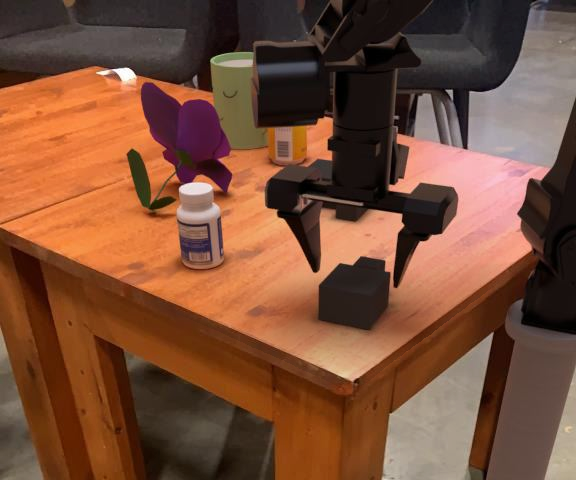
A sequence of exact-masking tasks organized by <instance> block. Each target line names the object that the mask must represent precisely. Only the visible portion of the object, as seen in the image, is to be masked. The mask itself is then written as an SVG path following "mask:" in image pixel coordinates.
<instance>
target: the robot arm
mask: <svg viewBox="0 0 576 480" xmlns="http://www.w3.org/2000/svg"><path fill="white" fill-rule="evenodd" d="M433 2H434V0H329V2H328V3H327V5H326V6H325V8H324V9H323V11H322V12H321V14H320V16H319V18H318V19H317V21H316V22H315V24H314V25H313V27H312V29H311V30H310V32H309V34H308V35H307V41H306V40H304V41H303V40H302V41H285V42H276V41H272V40H255V41H254V43H252V48H253V49H252V50H253V51H252V52H254V57H253V71H252V72H253V78H250V81H251V99H252V110H253V118H254V124H255V128H256V129H263V128H280V127H296V126H307V127H310V126H311V127H312V126H317V124H318V122H319V120H320V119H323V120H324V118H325V113H329V109H330V103H331V73H333V85H332V86H333V87H332V88H333V89H332V94H333V95H332V134H331V136H329V137H328V138H327V143H326V145H327V146H326V147H327V148H326V149H327V150H326V151H329V152H331V161H332V180H331V181H330V182H326V181H321V179H322V174H321V172H320V171H319V169H318V168H313V167H308V166H306V165H299V164H296V165H292V164H288V165H285V166H284V167H282V168H281V169H280V170H279V171H277V172H276V173H275V174H274V175H272V176H271V177H270V178H269V179H268V180H267V181H266V184H265V187H264V206H265V207H266V208H267V209H269V210H275V211H276V216H277V218H279V219H282V220H284V221H285V223H286V224H287V226H288V228H289V229H290V231H291V233H292V234H293V236H294V237H295V239H296V241H297V242H298V245H299V247H300V248H301V251H302V252H303V255H304V256H305V259H306V261H307V263H308V265H309V267H310V270H311V271H312V273H313V274H318V273H319V272H320V270H321V262H322V248H321V247H322V242H321V241H322V240H321V220H320V219H321V212H322V208H323V207H322V203H323V202H327V203H333V204H340V205H346V206H353V207H359V208H366V209H367V210H373V211H379V212H384V213H385V212H386V213H392V214H399V215H401V223H402V225H403V227H402V228H401V229H400V230H399V231H398V232H397V236H396V244H395V245H396V246H395V247H396V248H395V256H394V262H393V263H394V264H393V273H392V284H393V285H392V286H393V288H394V289H398V288H399V287H400V285H401V284H402V282H403V280H404V279H403V278H404V276H405V274H406V272H407V270H408V268H409V265H410V264H411V261H412V258H413V257H414V254H415V252H416V250H417V248H418V246H419V244H420V242H427V241H429V240H430V239H431V237H432V236H438V235H443V233H444V232H445V231H446V230H447V228H448V226H449V225H450V224H451V223H452V221H453V220H454V219H455V218H456V216H457V213H458V205H459V194H458V193H457V191H456V189H455V187H454V186H448V185H443V184H441V185H440V184H434V183H427V182H419V183H418V185H416V186H415V188H414V189H413V190H412V191H411V192H410V193H408V192H401V191H394V190H390V186H396V185H397V184H398V182H399V180H404V179H405V175H406V170H407V166H408V165H407V164H408V158H409V152H410V146H409V145H406V144H402V143H398V141H397V139H398V132H397V129H398V127H396V126H395V127H394V124H395V113H396V112H395V109H396V97H397V84H398V83H397V81H398V70H401V69H418V68H420V67H421V66H422V63H423V62H422V58H420V56H418V55H417V54H416V52H415V51H414V50H413V49H412V47H411V46H410V43H409V41H408V38H407V37H406V36H405V35H404V34H402V32H401V31H402V30H404V29H405V28H406V27H407V26H408V25H410V24H411V23H412V22H414V21H415V20H416V19H417V18H418V17H419V16H421V15H422V14H423V13H424V12H425V11H426V10H427V8H429V6H430V5H431V4H432V3H433ZM386 42H387V43H386ZM557 152H558V153H557V155H556V159H555V161H554V163H553V166H552V167H550V169H549V171H547V172H546V174H545V175H544V176H543V178H542V179H537V178H534V177H530V178H528V181H527V184H526V189H525V196H524V200H523V202H522V204H521V206H520V208H519V209H518V211H517V213H516V215H517V216H518V217H519V218H520V224H519V225H520V231H521V234H522V236H523V237H524V239H525V240H526V241H527V243H529V245H530V247H531V252H532V254H533V255H534V256H536V257H537V258H538V261H537V263H536V265H535V267H534V269H533V270H531V271H530V272H529V273H530V274H529V275H528V277H527V279H526V284H525V288H524V293H523V298H522V299H523V302H522V307H521V312H522V313H524V315H523V317H522V319H521V324H523V325H527V326H532V327H537V328H542V329H547V330H552V331H557V332H563V333H568V334H573V335H576V97H574V100H573V104H572V107H571V111H570V114H569V116H568V120H567V122H566V127H565V129H564V133H563V136H562V139H561V142H560V145H559V149H558V151H557Z"/></svg>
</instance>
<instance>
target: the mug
mask: <svg viewBox="0 0 576 480" xmlns="http://www.w3.org/2000/svg"><path fill="white" fill-rule="evenodd" d="M253 57H254V51H252V52H251V51H240V52H228V53H222V54H219V55H216V56H213V57H212V58H210V73H211V82H210V84H209V91H210V92H212V102H213V107H214V108H215V110H216V111H217V114H218V116H219V121H220V126H221V128H222V130H223V131H224V133H225V134H226V136H227V139H228V142H229V144H230V147H231V150H232V149H233V150H254V149H260V148H261V149H262V148H265V147H267V146H268V128H263V129H256V128H255V124H254V118H253V110H252V99H251V81H250V78H253V72H252V71H253Z"/></svg>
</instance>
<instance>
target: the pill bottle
mask: <svg viewBox="0 0 576 480" xmlns="http://www.w3.org/2000/svg"><path fill="white" fill-rule="evenodd" d="M178 195H179V196H178V197H179V198H178V199H179V202H180V203H181V205H179V207H178V208H177V209H176V223H177V224H176V225H177V232H178V239H179V248H180V255H181V256H180V257H181V262H182V263H183V265H184V266H186V267H188V268H189V269H193V270H208V269H212V268H216V267H217V266H219V265H221V264H222V263H223V262H224V259H225V249H224V236H223V226H222V225H223V224H222V214H221V208H220V207H219V206H218V204H217V203H215V202H214V200H215V198H214V195H215V194H214V186H212V185H211V184H210V183H207V182H200V181H197V182H194V181H193V182H192V183H188V184H185V183H184V184H182V185H180V186H179V187H178Z"/></svg>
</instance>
